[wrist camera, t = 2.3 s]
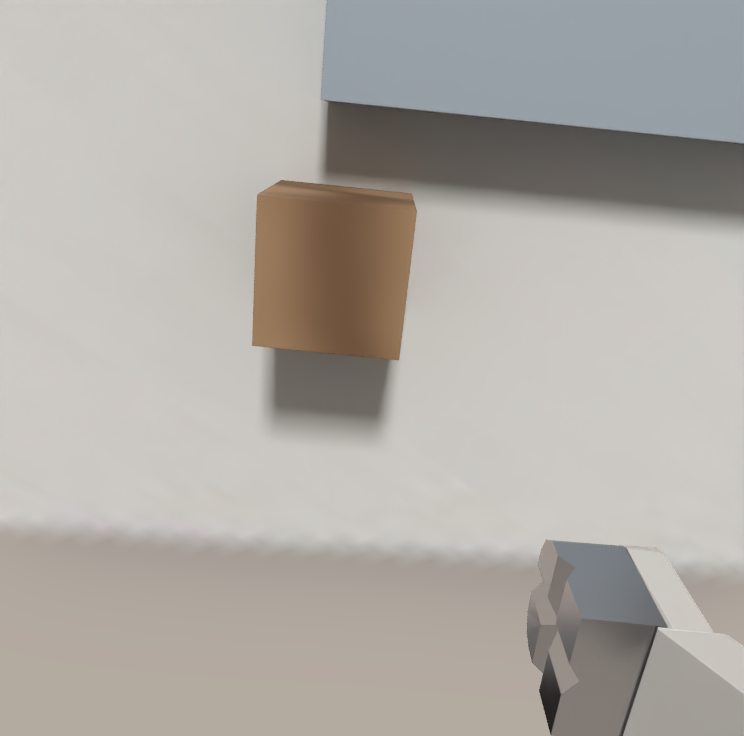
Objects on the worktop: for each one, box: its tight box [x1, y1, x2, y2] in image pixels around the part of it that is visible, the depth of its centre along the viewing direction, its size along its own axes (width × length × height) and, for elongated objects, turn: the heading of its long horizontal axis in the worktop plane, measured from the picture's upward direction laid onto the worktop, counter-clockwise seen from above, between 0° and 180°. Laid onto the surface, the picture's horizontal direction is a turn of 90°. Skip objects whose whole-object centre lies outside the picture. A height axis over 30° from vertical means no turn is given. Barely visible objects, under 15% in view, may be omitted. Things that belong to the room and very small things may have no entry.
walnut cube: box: [252, 180, 417, 360], centre depth 26 cm, size 6×6×6 cm
